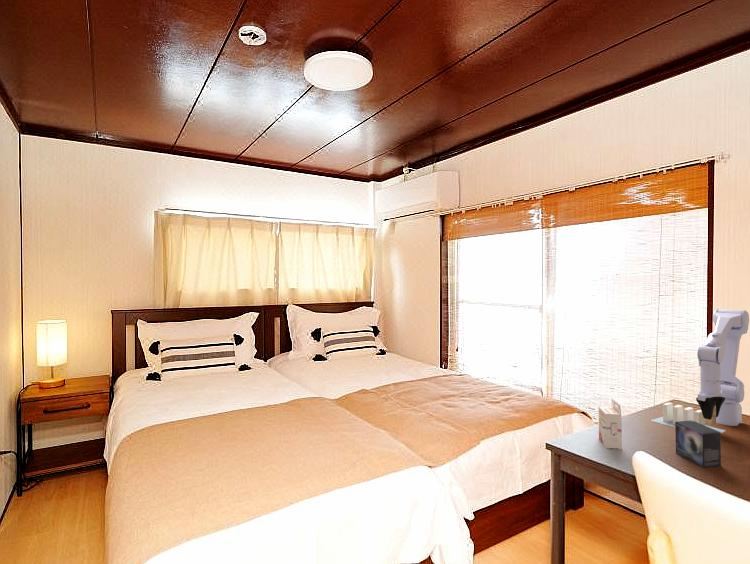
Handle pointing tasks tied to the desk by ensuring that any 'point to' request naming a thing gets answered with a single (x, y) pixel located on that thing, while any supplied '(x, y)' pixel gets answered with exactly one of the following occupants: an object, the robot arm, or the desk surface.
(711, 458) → the small box
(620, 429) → the ink cartridge box
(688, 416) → the tile
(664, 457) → the desk surface
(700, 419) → the tile
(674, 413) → the tile
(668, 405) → the tile
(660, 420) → the domino board
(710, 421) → the tile
